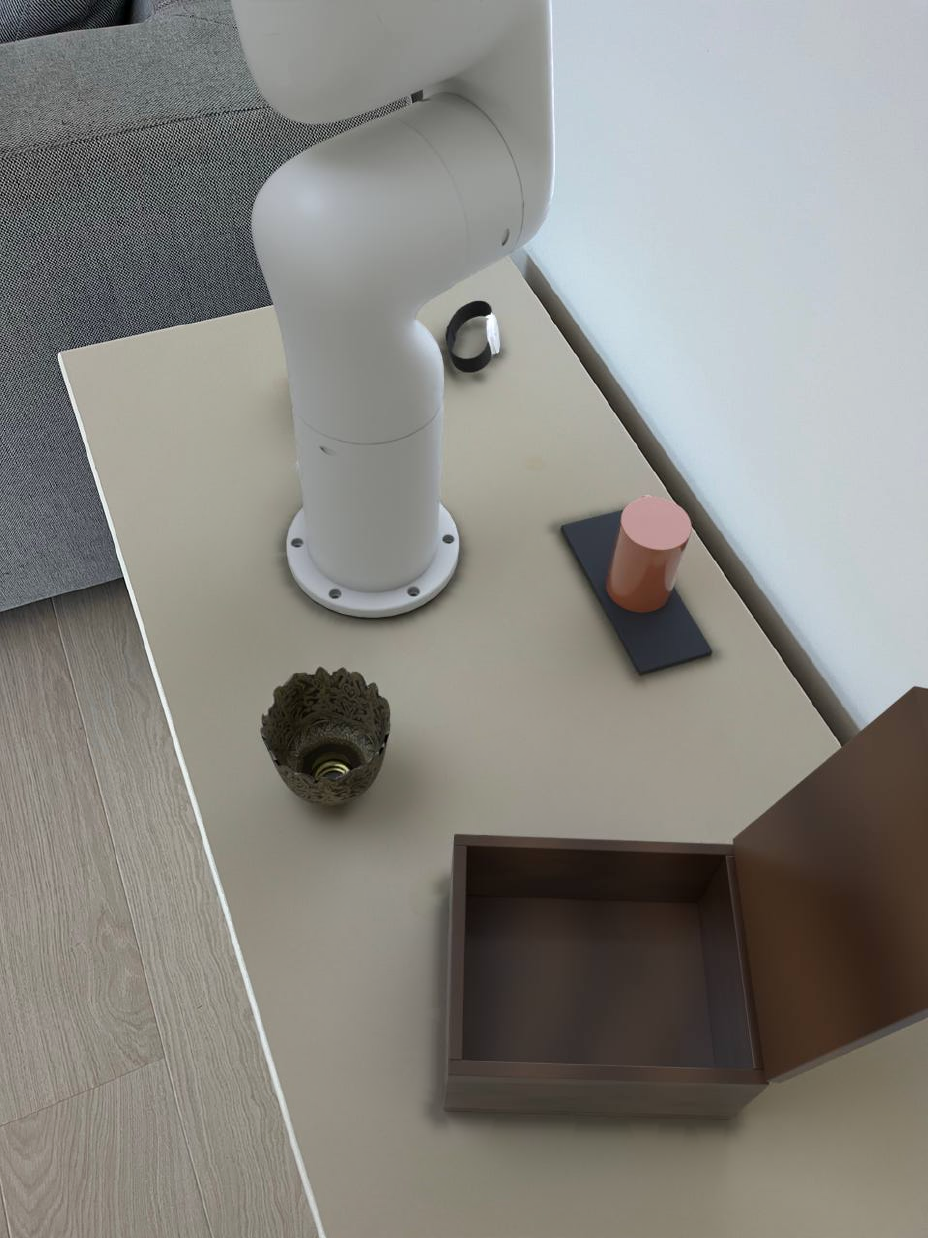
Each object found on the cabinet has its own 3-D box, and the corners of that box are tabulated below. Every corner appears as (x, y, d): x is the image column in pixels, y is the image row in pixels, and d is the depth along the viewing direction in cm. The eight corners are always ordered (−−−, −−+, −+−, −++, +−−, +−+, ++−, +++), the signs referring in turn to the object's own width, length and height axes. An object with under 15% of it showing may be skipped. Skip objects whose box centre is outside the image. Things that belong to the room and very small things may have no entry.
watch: (496, 381, 91) (499, 347, 88) (440, 376, 91) (442, 342, 88) (501, 322, 96) (504, 288, 93) (449, 318, 96) (450, 284, 93)
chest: (443, 1111, 57) (447, 1075, 51) (449, 888, 65) (454, 833, 58) (731, 1120, 58) (770, 1085, 51) (704, 897, 65) (736, 843, 59)
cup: (308, 716, 71) (298, 647, 65) (410, 756, 70) (411, 690, 63) (253, 811, 67) (236, 747, 60) (360, 855, 65) (355, 795, 59)
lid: (993, 979, 38) (1012, 981, 39) (914, 685, 46) (930, 688, 46) (765, 1082, 51) (780, 1083, 51) (731, 839, 58) (745, 841, 58)
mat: (560, 528, 82) (561, 525, 81) (627, 511, 83) (627, 508, 83) (639, 675, 74) (640, 672, 74) (711, 654, 75) (712, 651, 75)
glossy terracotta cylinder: (674, 614, 77) (695, 551, 71) (607, 611, 77) (623, 548, 71) (665, 545, 81) (685, 480, 75) (602, 542, 81) (617, 477, 75)
